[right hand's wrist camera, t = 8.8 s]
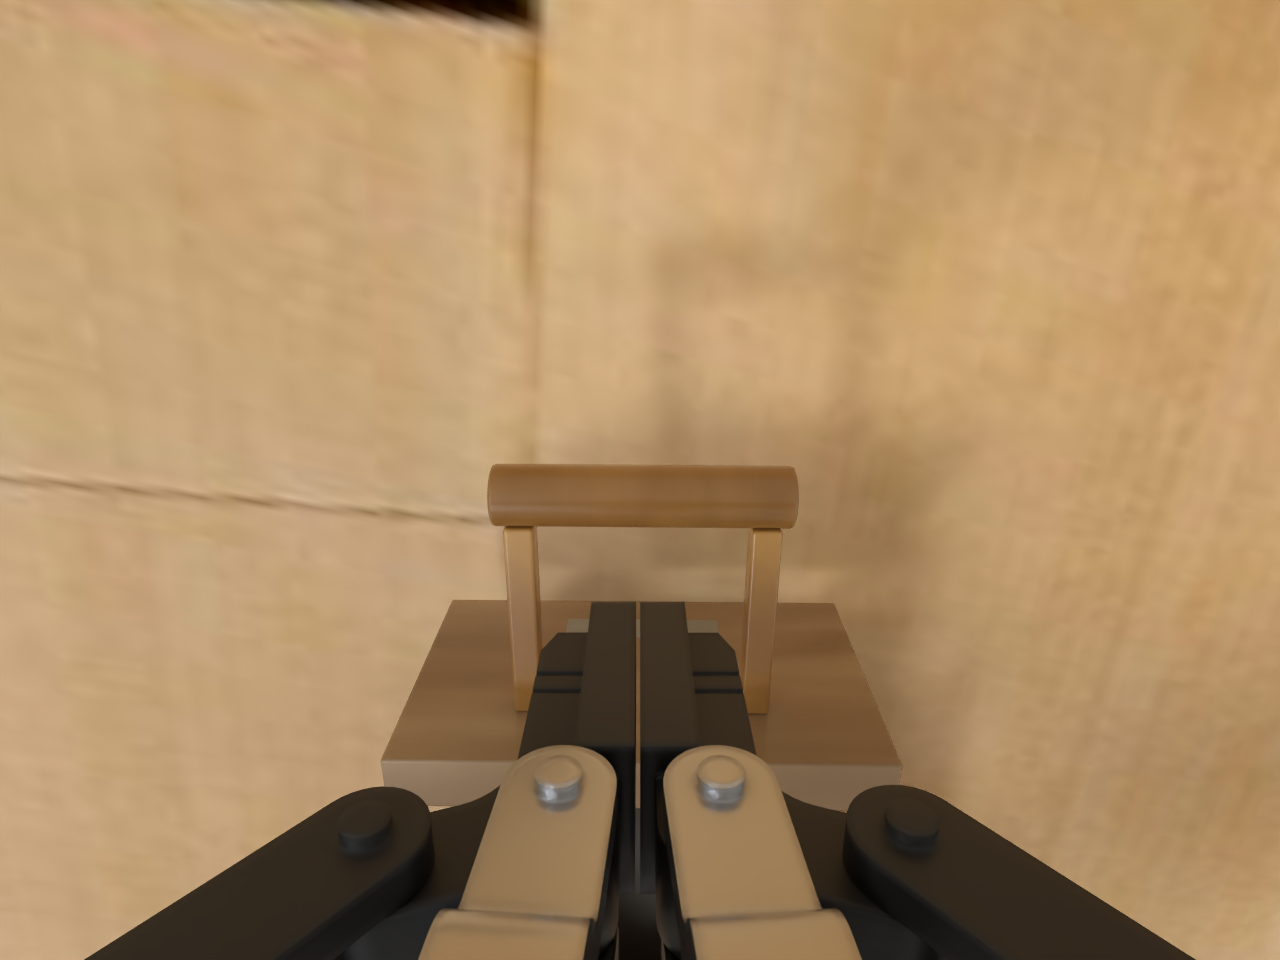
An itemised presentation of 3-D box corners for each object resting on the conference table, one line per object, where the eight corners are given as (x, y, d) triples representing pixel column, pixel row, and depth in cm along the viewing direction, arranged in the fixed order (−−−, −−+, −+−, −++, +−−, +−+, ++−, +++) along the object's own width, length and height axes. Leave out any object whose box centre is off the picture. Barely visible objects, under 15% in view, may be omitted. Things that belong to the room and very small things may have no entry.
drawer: (432, 400, 19) (340, 502, 14) (856, 403, 19) (945, 506, 14) (497, 1068, 29) (459, 1296, 23) (782, 1072, 29) (815, 1301, 23)
